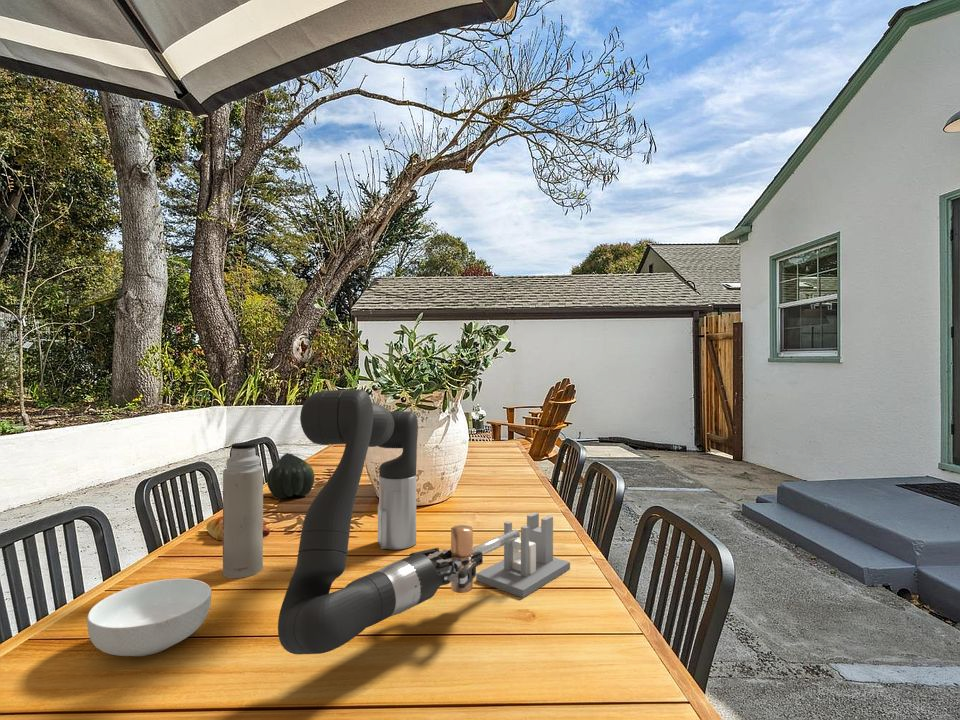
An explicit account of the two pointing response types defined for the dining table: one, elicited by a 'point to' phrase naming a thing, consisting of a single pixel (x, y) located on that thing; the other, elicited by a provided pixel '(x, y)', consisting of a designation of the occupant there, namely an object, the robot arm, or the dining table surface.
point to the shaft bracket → (526, 560)
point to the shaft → (464, 547)
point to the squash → (290, 477)
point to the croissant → (217, 528)
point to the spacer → (515, 556)
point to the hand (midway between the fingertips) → (471, 553)
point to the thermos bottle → (242, 512)
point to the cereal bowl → (149, 616)
